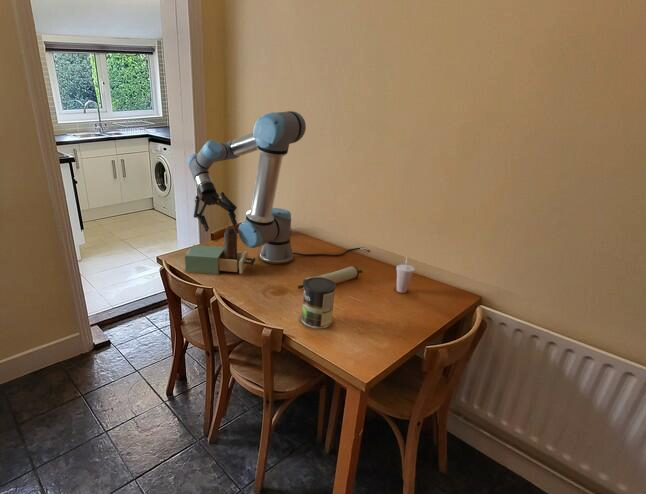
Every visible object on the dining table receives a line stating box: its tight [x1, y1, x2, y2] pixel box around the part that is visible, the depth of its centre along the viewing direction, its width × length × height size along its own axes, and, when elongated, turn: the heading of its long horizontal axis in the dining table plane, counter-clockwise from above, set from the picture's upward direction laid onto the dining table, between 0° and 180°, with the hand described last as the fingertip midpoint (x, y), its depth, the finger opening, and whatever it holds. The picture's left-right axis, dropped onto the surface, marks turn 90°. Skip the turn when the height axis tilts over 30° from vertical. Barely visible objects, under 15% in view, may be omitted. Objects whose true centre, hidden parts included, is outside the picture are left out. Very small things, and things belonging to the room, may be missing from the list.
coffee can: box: [301, 276, 337, 330], centre depth 137 cm, size 10×10×14 cm
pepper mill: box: [223, 225, 238, 260], centre depth 174 cm, size 5×5×17 cm
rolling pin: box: [297, 266, 363, 289], centre depth 163 cm, size 32×6×5 cm, turn 118°
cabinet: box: [184, 244, 225, 275], centre depth 179 cm, size 15×13×8 cm
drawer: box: [218, 250, 256, 275], centre depth 177 cm, size 18×11×6 cm, turn 77°
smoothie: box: [395, 256, 415, 294], centre depth 156 cm, size 6×6×14 cm
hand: (221, 227), depth 178 cm, fingers open, 13 cm apart
